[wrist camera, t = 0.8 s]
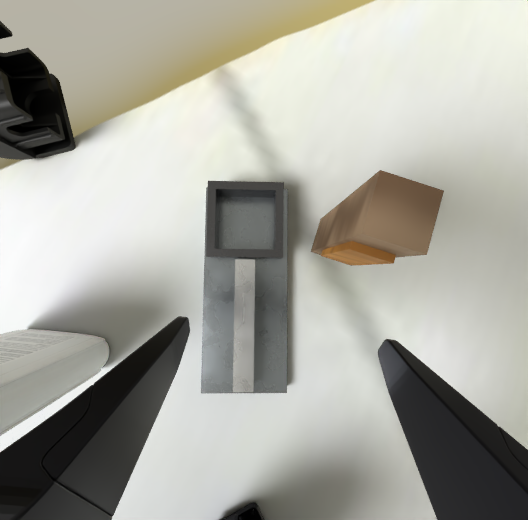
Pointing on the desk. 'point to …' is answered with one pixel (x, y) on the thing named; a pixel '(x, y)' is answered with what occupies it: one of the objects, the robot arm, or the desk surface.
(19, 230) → the desk surface
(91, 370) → the photo printer
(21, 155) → the end cap
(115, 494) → the robot arm
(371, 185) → the brown tall block
